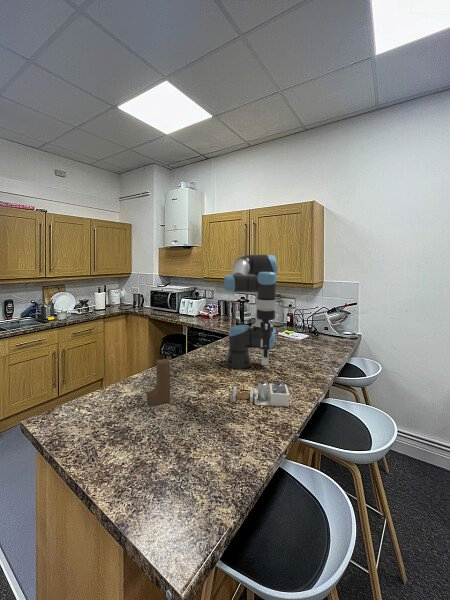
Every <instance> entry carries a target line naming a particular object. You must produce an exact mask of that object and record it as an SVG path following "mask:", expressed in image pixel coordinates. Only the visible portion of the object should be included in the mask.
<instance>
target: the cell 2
mask: <svg viewBox="0 0 450 600" xmlns="http://www.w3.org/2000/svg"><path fill="white" fill-rule="evenodd" d="M273 384H274V393H282V394H284V384H285V383H284V382H282V381H278V380H277V381H275V382H273Z"/></svg>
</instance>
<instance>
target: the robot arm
mask: <svg viewBox="0 0 450 600" xmlns="http://www.w3.org/2000/svg"><path fill="white" fill-rule="evenodd" d="M277 276H278V263H277V258H276V256H275V255H274V254H273V255H271V254H246V255H242V256H241V257H238V258H237V259H235V261H234V262H233V264H232V272H231V274H226V275H225V276H224V283H223V285H224V291H225V292H228V293H229V292H231V293H256V301H255V304H256V305H255V322H254V323H253V324H252V327H250V325H248V324H238V325H233V326H231V327H230V328H229V332H228V336H229V337H228V341H229V342H228V354H227V355H226V359H225V365H226V366H227V367H228V368H230V369H234V370H235V369H237V370H242V369H248V368H250V367H251V366H252V359H251V358H252V357H251V355H250V350H249V349H260V354H261V365H262V366H264V365H265V366H269V362H270V349H272V348H273V347H274V345H275V341H276V331H277V330H276V328H274V325H273V324H272V322H271V321H274V320H275V318H276V311H275V309H276V300H277V299H276V293H277V292H276V291H277Z"/></svg>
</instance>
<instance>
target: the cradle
mask: <svg viewBox="0 0 450 600" xmlns="http://www.w3.org/2000/svg"><path fill="white" fill-rule="evenodd" d="M249 388H250V389H249V391H250V392H249V403H254V388H253V387H249ZM237 389H238V387H237V386H233V391H232V402H236V400H237Z"/></svg>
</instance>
